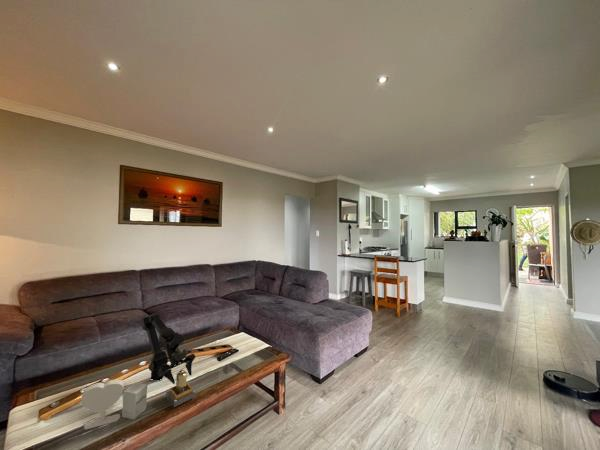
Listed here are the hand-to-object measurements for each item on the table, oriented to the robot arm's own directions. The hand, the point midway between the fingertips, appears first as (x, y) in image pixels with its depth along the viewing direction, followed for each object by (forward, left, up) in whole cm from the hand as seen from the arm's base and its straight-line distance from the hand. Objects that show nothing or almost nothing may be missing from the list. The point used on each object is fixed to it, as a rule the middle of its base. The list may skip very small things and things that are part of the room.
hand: (182, 379), depth 135 cm
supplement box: (-20, -8, -11) cm, 24 cm away
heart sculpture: (-32, -12, -11) cm, 36 cm away
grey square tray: (-1, +1, -11) cm, 11 cm away
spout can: (-1, +1, -8) cm, 8 cm away
